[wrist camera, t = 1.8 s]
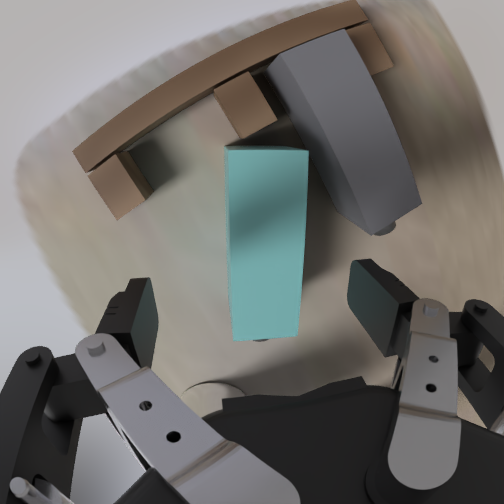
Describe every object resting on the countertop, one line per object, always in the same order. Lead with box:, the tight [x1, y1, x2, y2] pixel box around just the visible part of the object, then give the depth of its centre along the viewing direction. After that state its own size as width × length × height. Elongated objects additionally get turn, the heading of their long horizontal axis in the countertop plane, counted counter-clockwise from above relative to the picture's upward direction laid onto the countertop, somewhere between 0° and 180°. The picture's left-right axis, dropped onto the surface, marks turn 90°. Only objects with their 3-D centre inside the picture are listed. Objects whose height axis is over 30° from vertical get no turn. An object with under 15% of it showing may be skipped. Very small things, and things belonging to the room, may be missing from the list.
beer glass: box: [180, 382, 245, 418], centre depth 18 cm, size 7×7×15 cm
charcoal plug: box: [263, 29, 422, 236], centre depth 16 cm, size 12×4×5 cm, turn 30°
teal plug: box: [224, 146, 309, 342], centre depth 18 cm, size 12×4×5 cm, turn 0°
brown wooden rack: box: [72, 0, 394, 220], centre depth 15 cm, size 5×18×2 cm, turn 120°
